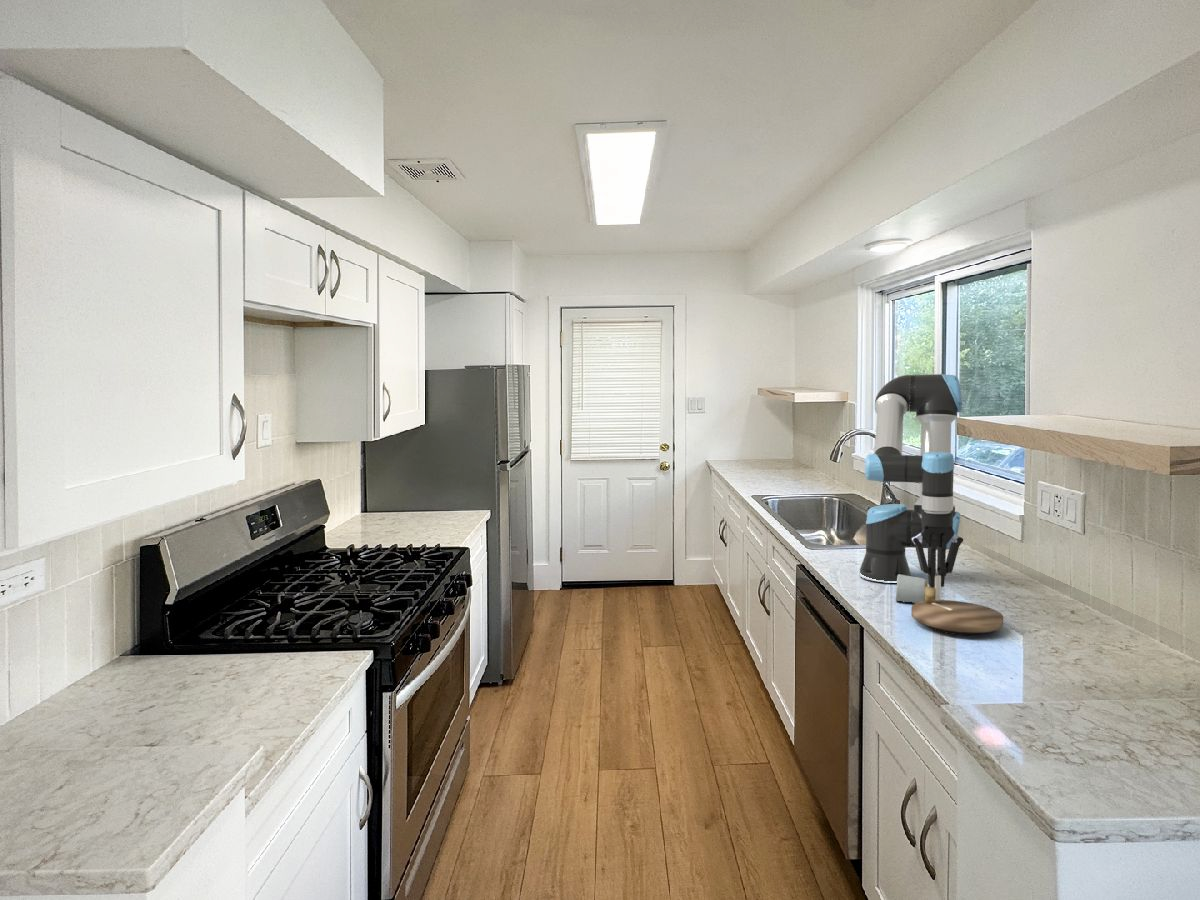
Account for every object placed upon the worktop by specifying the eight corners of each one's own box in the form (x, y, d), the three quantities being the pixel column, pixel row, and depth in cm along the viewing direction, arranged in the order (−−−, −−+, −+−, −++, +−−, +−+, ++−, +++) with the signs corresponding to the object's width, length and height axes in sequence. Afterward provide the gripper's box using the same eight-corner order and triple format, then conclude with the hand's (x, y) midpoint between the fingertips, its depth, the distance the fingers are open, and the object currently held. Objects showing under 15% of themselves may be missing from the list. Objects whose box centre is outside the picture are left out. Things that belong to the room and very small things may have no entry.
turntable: (1023, 626, 182) (1024, 603, 181) (956, 637, 175) (957, 613, 174) (955, 603, 202) (956, 582, 201) (893, 611, 195) (893, 590, 194)
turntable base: (927, 614, 198) (927, 609, 198) (986, 621, 192) (986, 615, 191) (924, 630, 185) (924, 624, 185) (987, 638, 179) (987, 632, 179)
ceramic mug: (927, 607, 204) (928, 580, 203) (895, 604, 207) (896, 577, 207) (926, 598, 214) (927, 571, 213) (896, 595, 217) (896, 569, 216)
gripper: (956, 508, 198) (955, 594, 200) (907, 508, 199) (906, 594, 201) (968, 513, 190) (967, 602, 193) (917, 514, 191) (916, 603, 194)
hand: (936, 598), depth 197 cm, fingers closed
